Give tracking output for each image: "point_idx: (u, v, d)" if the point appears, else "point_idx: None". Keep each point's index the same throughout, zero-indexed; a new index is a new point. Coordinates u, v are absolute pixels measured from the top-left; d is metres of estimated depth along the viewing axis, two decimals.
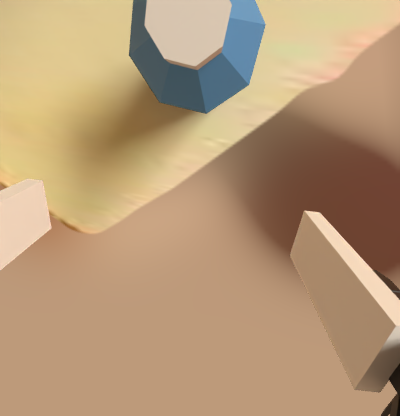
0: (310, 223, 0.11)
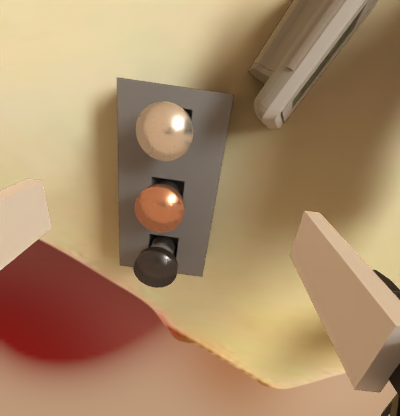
0: (310, 223, 0.11)
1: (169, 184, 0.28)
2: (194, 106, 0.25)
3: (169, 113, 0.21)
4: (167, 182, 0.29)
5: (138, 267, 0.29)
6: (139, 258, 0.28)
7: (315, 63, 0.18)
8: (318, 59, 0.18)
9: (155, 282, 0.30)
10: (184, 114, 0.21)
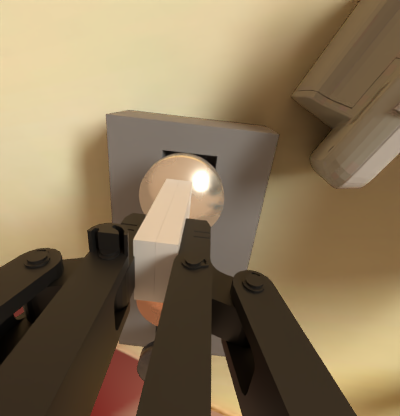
0: (177, 188, 0.13)
1: None
2: (220, 151, 0.17)
3: (189, 173, 0.14)
4: None
5: (143, 369, 0.21)
6: (145, 358, 0.20)
7: None
8: None
9: None
10: (212, 174, 0.14)
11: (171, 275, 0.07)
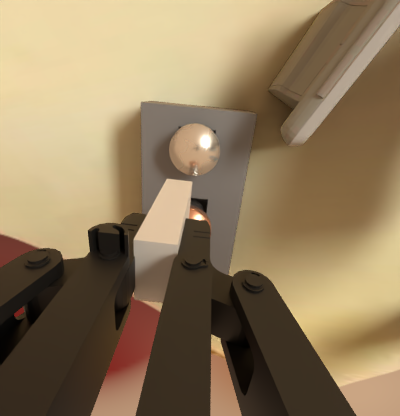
0: (177, 188, 0.13)
1: (193, 203, 0.29)
2: (217, 127, 0.25)
3: (199, 134, 0.24)
4: (191, 201, 0.29)
5: None
6: None
7: (345, 90, 0.19)
8: (348, 86, 0.19)
9: None
10: (213, 134, 0.24)
11: (171, 275, 0.07)
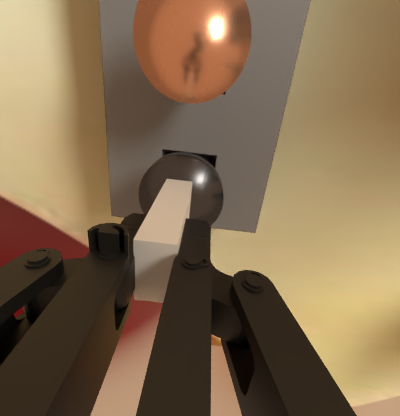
0: (177, 188, 0.13)
1: None
2: None
3: None
4: None
5: (147, 194, 0.15)
6: (150, 172, 0.14)
7: None
8: None
9: None
10: None
11: (171, 275, 0.07)
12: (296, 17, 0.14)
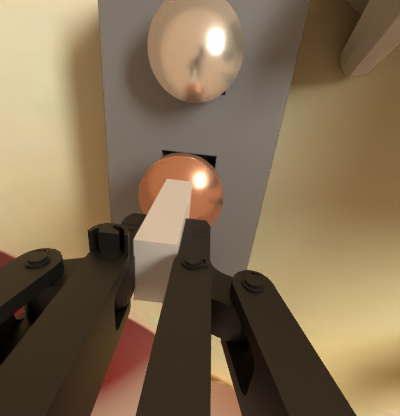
0: (177, 188, 0.13)
1: None
2: (239, 12, 0.14)
3: (205, 11, 0.12)
4: None
5: None
6: None
7: None
8: None
9: None
10: (232, 12, 0.12)
11: (171, 275, 0.07)
12: (265, 156, 0.17)
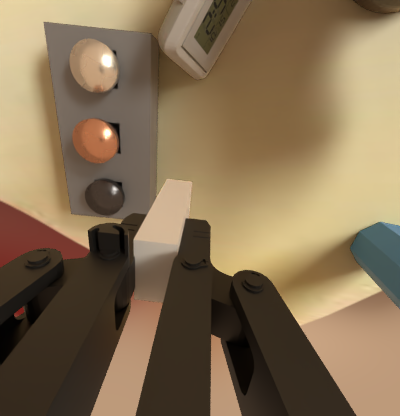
0: (177, 188, 0.13)
1: None
2: (117, 47, 0.28)
3: (95, 48, 0.26)
4: None
5: (88, 197, 0.33)
6: (88, 187, 0.33)
7: None
8: None
9: (105, 210, 0.34)
10: (107, 49, 0.26)
11: (171, 275, 0.07)
12: (146, 122, 0.31)
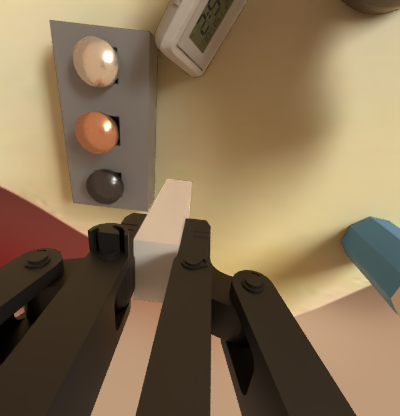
0: (177, 188, 0.13)
1: None
2: (118, 44, 0.29)
3: (96, 45, 0.28)
4: None
5: (89, 186, 0.35)
6: (89, 177, 0.35)
7: (195, 0, 0.23)
8: None
9: (105, 199, 0.36)
10: (108, 46, 0.28)
11: (171, 275, 0.07)
12: (144, 116, 0.33)
